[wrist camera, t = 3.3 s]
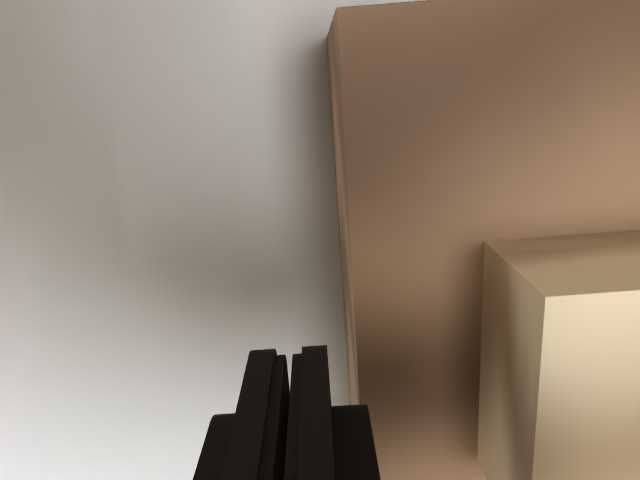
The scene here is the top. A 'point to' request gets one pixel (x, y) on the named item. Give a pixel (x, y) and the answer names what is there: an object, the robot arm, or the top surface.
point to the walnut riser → (465, 187)
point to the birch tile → (561, 358)
